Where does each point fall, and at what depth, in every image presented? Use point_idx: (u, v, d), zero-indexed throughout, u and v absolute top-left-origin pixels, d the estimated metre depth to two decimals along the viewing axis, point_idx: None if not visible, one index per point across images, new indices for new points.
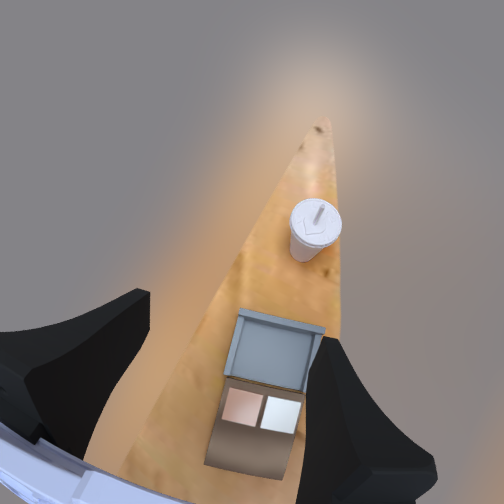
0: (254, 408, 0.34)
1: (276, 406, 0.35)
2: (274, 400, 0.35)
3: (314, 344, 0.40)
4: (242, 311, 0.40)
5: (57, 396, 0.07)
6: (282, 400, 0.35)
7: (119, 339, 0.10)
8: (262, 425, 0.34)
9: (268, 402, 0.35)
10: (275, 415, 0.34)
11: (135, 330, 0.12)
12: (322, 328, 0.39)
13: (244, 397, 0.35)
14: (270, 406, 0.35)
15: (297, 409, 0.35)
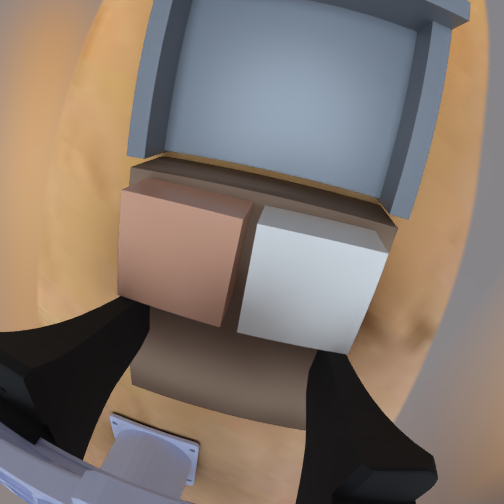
0: (212, 268, 0.10)
1: (291, 264, 0.10)
2: (282, 240, 0.09)
3: (431, 53, 0.08)
4: None
5: (57, 396, 0.07)
6: (315, 241, 0.09)
7: (119, 339, 0.10)
8: (243, 326, 0.11)
9: (259, 248, 0.10)
10: (288, 296, 0.10)
11: (135, 330, 0.12)
12: (460, 1, 0.06)
13: (173, 226, 0.10)
14: (266, 262, 0.10)
15: (371, 278, 0.09)
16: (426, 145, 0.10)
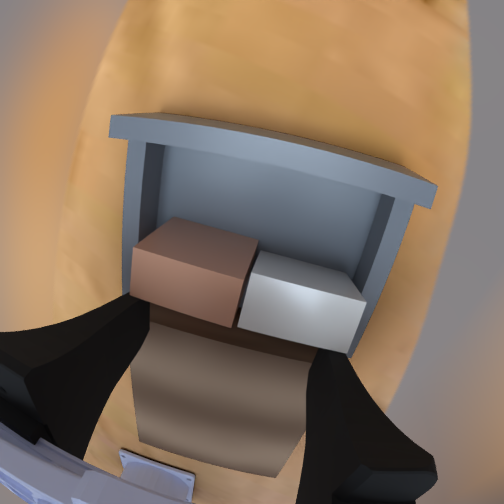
0: (237, 251, 0.13)
1: (287, 262, 0.13)
2: (278, 256, 0.14)
3: (389, 226, 0.11)
4: (118, 126, 0.10)
5: (57, 396, 0.07)
6: (298, 261, 0.14)
7: (119, 339, 0.10)
8: (257, 271, 0.11)
9: (263, 254, 0.14)
10: (291, 269, 0.12)
11: (135, 330, 0.12)
12: (425, 187, 0.09)
13: (209, 232, 0.14)
14: (270, 258, 0.13)
15: (344, 276, 0.13)
16: (371, 307, 0.13)
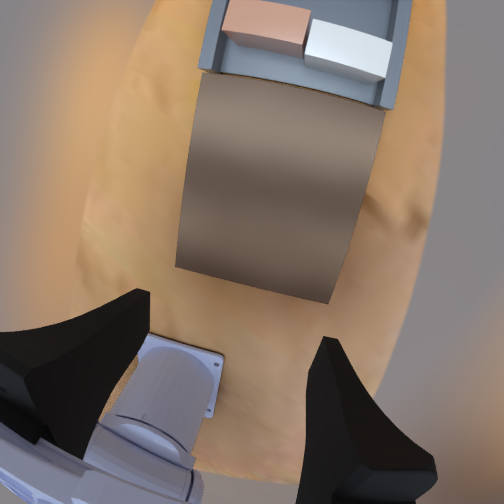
0: None
1: None
2: None
3: (399, 8, 0.13)
4: None
5: (57, 396, 0.07)
6: None
7: (119, 339, 0.10)
8: None
9: None
10: None
11: (135, 330, 0.12)
12: None
13: None
14: None
15: None
16: (399, 62, 0.14)
